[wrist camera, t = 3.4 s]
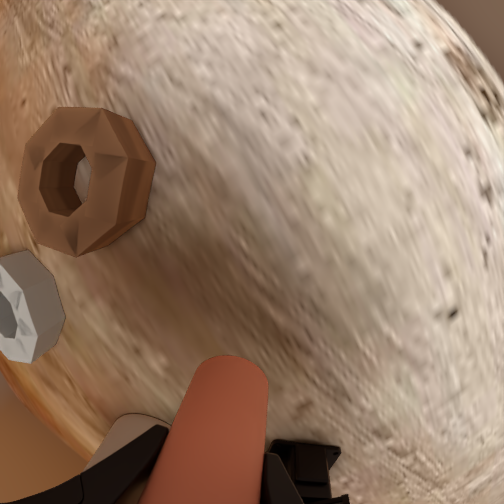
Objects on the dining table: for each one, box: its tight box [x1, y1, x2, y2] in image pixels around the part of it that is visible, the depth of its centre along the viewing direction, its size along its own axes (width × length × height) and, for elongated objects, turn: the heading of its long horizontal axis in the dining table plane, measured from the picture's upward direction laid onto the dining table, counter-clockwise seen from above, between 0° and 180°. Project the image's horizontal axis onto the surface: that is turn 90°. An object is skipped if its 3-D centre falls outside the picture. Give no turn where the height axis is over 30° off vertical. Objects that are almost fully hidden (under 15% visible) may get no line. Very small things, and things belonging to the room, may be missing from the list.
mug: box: [83, 414, 171, 472], centre depth 18 cm, size 12×8×11 cm
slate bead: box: [0, 250, 65, 364], centre depth 20 cm, size 9×9×4 cm
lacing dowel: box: [137, 355, 269, 504], centre depth 7 cm, size 3×3×9 cm
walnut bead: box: [18, 107, 156, 257], centre depth 17 cm, size 9×9×4 cm
